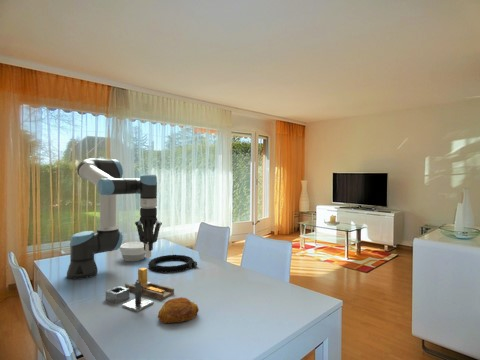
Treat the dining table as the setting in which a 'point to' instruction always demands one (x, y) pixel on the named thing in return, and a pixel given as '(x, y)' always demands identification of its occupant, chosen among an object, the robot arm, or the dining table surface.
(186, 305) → the croissant
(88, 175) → the robot arm
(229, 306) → the dining table surface
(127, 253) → the bowl
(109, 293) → the square hollow frame
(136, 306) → the square plate with peg
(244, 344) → the dining table surface
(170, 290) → the rail
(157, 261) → the cable lock
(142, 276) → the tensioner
